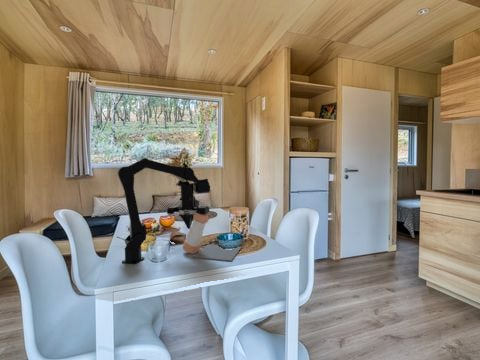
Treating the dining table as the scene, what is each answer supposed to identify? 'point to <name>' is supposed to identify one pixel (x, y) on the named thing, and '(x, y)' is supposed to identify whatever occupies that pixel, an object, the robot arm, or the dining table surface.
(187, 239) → the pepper shaker
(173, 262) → the dining table surface
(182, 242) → the sunglasses case
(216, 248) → the rubber mat
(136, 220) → the robot arm
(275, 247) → the dining table surface
